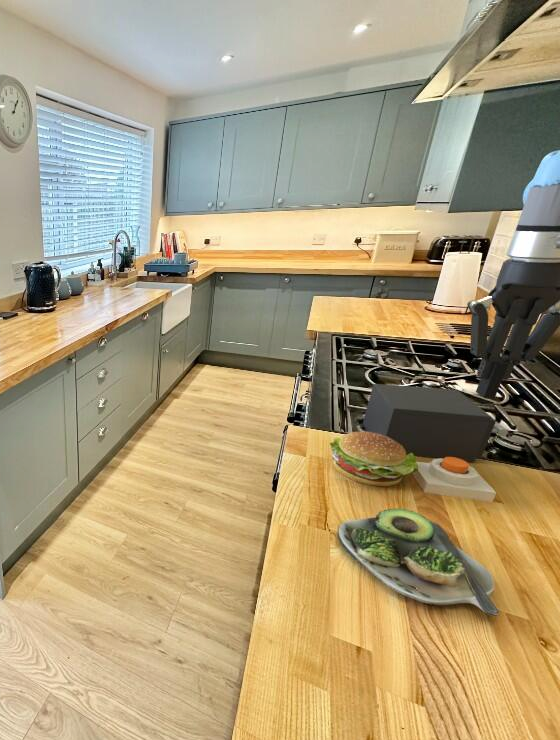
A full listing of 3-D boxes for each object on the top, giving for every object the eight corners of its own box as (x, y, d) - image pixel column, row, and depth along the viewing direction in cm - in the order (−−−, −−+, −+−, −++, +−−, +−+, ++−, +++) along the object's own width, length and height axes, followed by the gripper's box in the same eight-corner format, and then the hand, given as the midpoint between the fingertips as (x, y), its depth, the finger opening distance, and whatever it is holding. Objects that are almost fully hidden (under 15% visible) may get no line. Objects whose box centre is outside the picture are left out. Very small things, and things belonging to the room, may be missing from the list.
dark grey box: (442, 431, 99) (457, 389, 95) (473, 463, 87) (492, 416, 83) (362, 423, 105) (373, 383, 100) (381, 452, 93) (394, 408, 88)
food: (335, 486, 83) (344, 452, 80) (321, 450, 95) (328, 419, 92) (421, 499, 78) (434, 463, 75) (394, 459, 90) (404, 426, 87)
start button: (460, 465, 81) (463, 458, 80) (470, 476, 78) (473, 468, 77) (437, 463, 82) (440, 455, 81) (445, 473, 79) (448, 465, 78)
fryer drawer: (475, 432, 96) (488, 397, 93) (508, 462, 85) (524, 423, 82) (376, 422, 103) (385, 389, 99) (395, 448, 92) (406, 412, 88)
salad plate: (547, 616, 55) (562, 591, 54) (422, 633, 54) (433, 608, 53) (416, 519, 73) (423, 497, 72) (320, 530, 72) (325, 508, 70)
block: (469, 477, 83) (476, 460, 81) (492, 502, 76) (500, 484, 75) (408, 469, 86) (413, 453, 85) (424, 492, 80) (430, 475, 78)
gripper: (498, 262, 65) (448, 399, 74) (616, 262, 60) (547, 408, 69) (473, 256, 71) (430, 383, 80) (578, 256, 66) (520, 390, 75)
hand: (484, 395), depth 75 cm, fingers closed
